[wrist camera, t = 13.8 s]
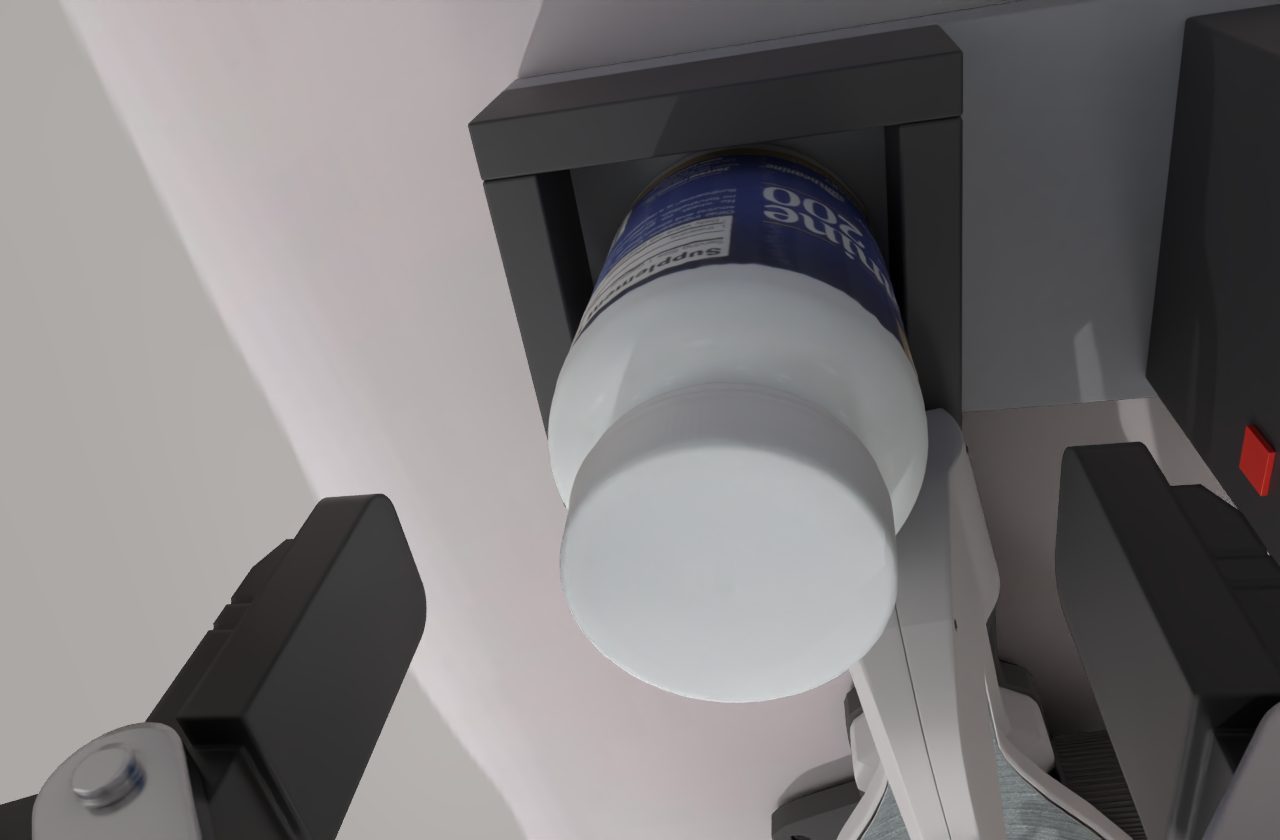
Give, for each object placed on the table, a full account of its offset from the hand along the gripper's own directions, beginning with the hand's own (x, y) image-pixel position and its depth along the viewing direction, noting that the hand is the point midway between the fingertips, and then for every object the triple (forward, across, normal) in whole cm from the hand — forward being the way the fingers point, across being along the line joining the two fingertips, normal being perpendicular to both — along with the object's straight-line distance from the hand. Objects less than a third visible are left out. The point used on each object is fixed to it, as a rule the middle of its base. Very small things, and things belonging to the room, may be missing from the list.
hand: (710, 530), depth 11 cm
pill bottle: (+9, 0, 0) cm, 9 cm away
